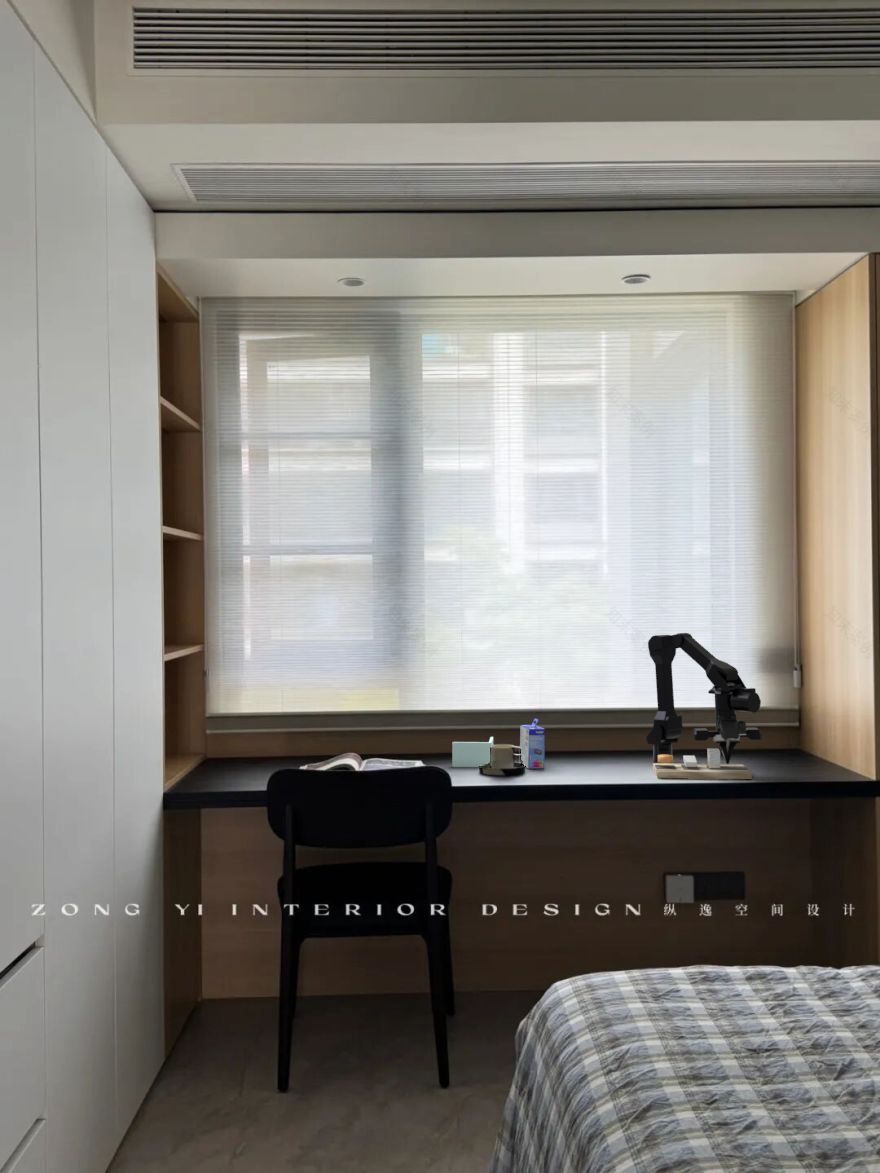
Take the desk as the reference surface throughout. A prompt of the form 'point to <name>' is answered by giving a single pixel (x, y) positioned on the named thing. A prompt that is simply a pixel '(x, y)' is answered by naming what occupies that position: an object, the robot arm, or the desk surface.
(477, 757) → the right angle wall
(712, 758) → the metal slider
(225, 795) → the desk surface
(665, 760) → the orange button
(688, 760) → the block
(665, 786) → the desk surface
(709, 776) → the control panel
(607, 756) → the desk surface
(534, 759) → the ink cartridge box
